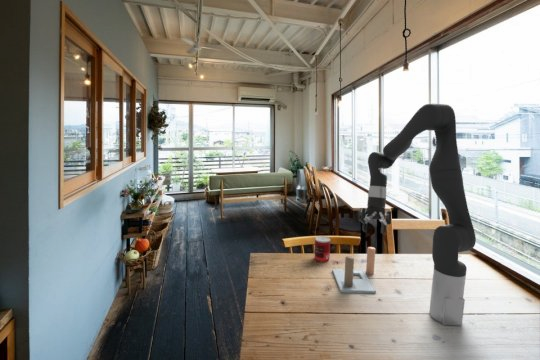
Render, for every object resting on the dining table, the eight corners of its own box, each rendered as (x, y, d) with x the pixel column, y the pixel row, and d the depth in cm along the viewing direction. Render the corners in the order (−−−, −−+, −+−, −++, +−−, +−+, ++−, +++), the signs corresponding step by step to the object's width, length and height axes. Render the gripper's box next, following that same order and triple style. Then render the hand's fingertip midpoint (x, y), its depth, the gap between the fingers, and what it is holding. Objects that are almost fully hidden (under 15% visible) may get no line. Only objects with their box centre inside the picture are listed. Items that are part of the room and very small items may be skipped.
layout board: (375, 293, 111) (377, 262, 109) (340, 292, 111) (342, 261, 109) (362, 271, 128) (364, 245, 127) (332, 271, 129) (333, 244, 127)
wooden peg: (374, 274, 126) (376, 249, 124) (367, 274, 126) (368, 249, 124) (372, 271, 129) (373, 247, 127) (365, 271, 129) (366, 246, 127)
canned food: (328, 256, 146) (329, 236, 144) (330, 262, 138) (331, 241, 136) (314, 255, 146) (314, 235, 145) (314, 262, 138) (315, 241, 137)
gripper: (366, 195, 119) (362, 232, 119) (396, 198, 121) (393, 235, 121) (358, 194, 127) (355, 230, 126) (387, 197, 129) (383, 232, 128)
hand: (373, 232), depth 123 cm, fingers open, 8 cm apart
